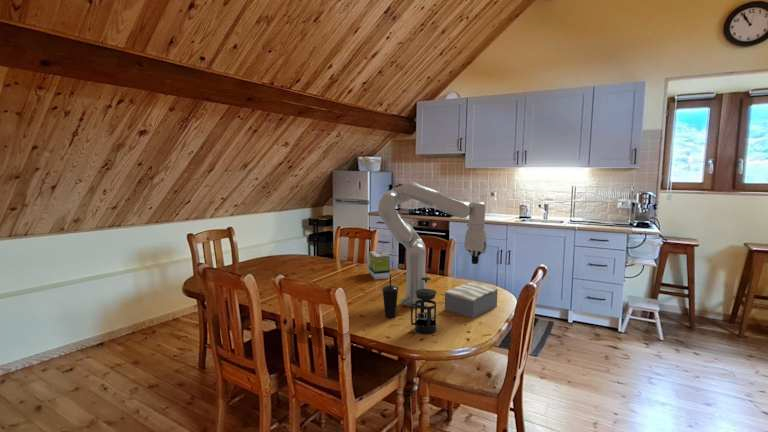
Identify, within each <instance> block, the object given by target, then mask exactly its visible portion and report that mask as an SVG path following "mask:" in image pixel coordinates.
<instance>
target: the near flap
mask: <svg viewBox="0 0 768 432" xmlns="http://www.w3.org/2000/svg"><path fill="white" fill-rule="evenodd" d="M459 286H460V285H458V286H457V285H456V286H455V287H453V288H450V289H448V290H446V291H445V292H444V295H445V294H448V295H452V296H455V297H459V298H463V299H466V300H470V301H475V300H477V299H479V298H481V297H483V296H485V295H486V293H483V292H479V291H475V290H471V289H467V288H463V287H459Z"/></svg>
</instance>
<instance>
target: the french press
mask: <svg viewBox="0 0 768 432" xmlns="http://www.w3.org/2000/svg"><path fill="white" fill-rule="evenodd" d="M421 279H422V280H425V284H427V283H428V281H431V279H432V278H431V277H427V276H425V277H423V278H421ZM415 293H416V297H417V298H418V299H422V300H418V301H416V302H415V304H411V307H410V324H411V326H414V331H415V332H416V333H418V334H419V335H420V334H421V335H432V334H435V333H436V332H437V302H436V301H434V299H435V297H436V295H437V291H436V290H435V289H431V288H425V289H418V290H416V291H415ZM424 302H425V306H424ZM418 303H420V306H419V305H417V304H418ZM426 303H428V304H433V305H430V306H428V305H426ZM413 306H415V307H413ZM413 308H414V309H413ZM418 309H420V311H419V312H418ZM413 310H414V312H413ZM432 310H433V313H432ZM413 313H414V314H413ZM413 315H414V322H413Z"/></svg>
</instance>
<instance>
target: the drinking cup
mask: <svg viewBox="0 0 768 432" xmlns="http://www.w3.org/2000/svg"><path fill="white" fill-rule="evenodd" d="M381 289H382V296H383V298H382V299H383V307H384V317H385V318H386V319H395V318H396V317H397V316H396V314H397V304H398V303H397V302H398V292H399V287H398V286H396V285H393V284H392V274H390V278H389V284H388V285H385V286H382V287H381Z"/></svg>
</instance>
